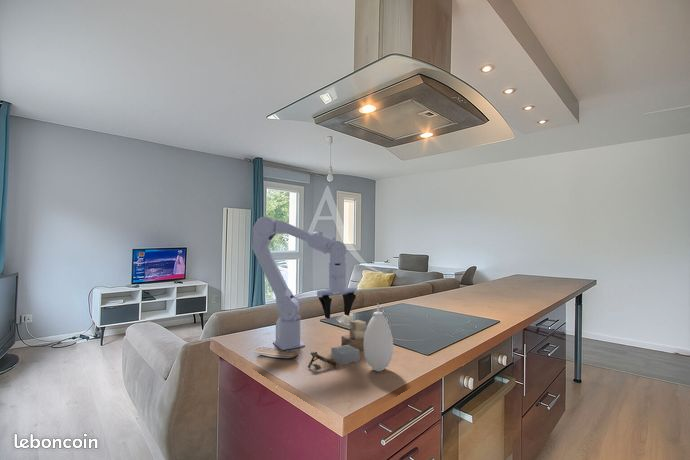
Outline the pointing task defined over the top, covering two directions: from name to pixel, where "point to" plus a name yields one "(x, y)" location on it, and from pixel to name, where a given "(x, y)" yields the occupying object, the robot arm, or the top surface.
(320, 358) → the toy blunderbuss
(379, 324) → the sauce bottle
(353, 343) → the tan square slab
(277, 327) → the robot arm
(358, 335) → the maple block
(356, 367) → the top surface
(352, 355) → the slate grey block
